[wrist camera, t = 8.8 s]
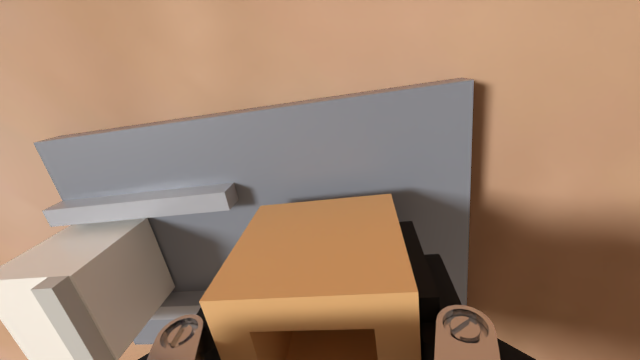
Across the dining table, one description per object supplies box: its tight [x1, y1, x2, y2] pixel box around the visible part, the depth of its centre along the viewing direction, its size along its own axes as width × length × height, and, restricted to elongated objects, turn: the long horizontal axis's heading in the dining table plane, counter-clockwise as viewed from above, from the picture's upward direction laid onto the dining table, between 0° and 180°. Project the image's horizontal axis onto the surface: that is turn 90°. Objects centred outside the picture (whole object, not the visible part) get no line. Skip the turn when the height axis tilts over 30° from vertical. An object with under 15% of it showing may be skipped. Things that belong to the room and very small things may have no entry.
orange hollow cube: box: [199, 194, 421, 360], centre depth 10 cm, size 5×5×5 cm
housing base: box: [34, 78, 474, 344], centre depth 12 cm, size 18×12×5 cm, turn 99°
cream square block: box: [0, 218, 175, 360], centre depth 13 cm, size 4×4×5 cm
